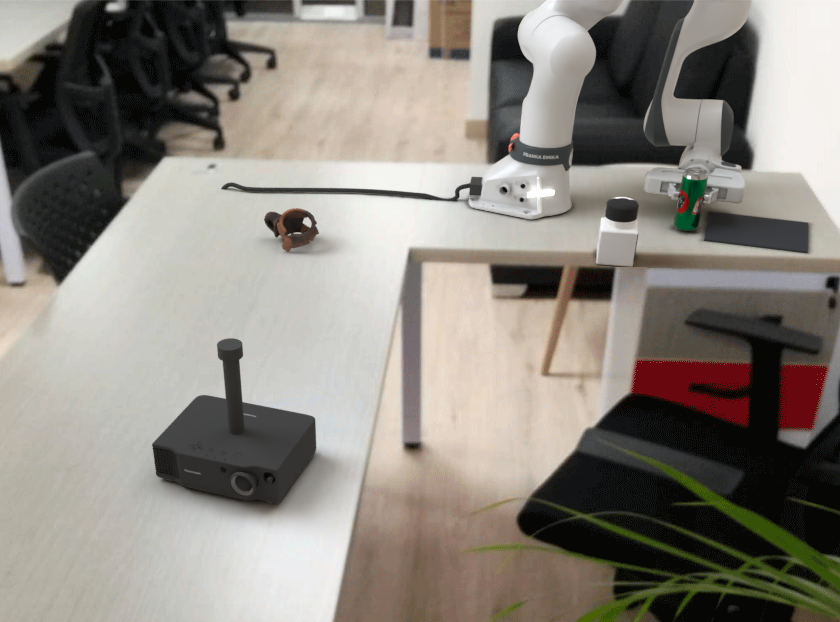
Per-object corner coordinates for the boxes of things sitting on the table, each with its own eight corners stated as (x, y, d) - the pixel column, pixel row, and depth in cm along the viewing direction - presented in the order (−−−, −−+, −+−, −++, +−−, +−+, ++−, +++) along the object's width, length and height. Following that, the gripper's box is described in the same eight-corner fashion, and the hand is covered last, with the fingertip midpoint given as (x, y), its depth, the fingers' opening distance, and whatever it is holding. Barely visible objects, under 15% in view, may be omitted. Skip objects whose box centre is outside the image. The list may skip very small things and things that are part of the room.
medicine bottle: (633, 267, 210) (642, 208, 203) (596, 264, 212) (604, 205, 204) (632, 253, 216) (641, 194, 209) (596, 250, 217) (604, 192, 210)
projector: (149, 488, 152) (131, 363, 140) (202, 428, 165) (190, 309, 153) (273, 516, 147) (265, 389, 135) (318, 452, 159) (315, 330, 147)
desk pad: (703, 240, 221) (704, 239, 221) (710, 212, 233) (710, 211, 233) (807, 253, 215) (807, 251, 215) (808, 223, 227) (808, 222, 227)
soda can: (693, 233, 223) (705, 177, 215) (669, 229, 225) (680, 172, 218) (701, 225, 226) (712, 169, 219) (677, 221, 228) (687, 165, 221)
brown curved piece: (324, 237, 225) (326, 212, 218) (306, 271, 221) (308, 247, 214) (271, 217, 226) (271, 191, 219) (253, 251, 222) (253, 226, 215)
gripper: (650, 156, 232) (642, 177, 222) (749, 166, 227) (745, 189, 216) (645, 184, 236) (637, 206, 226) (742, 195, 230) (739, 219, 220)
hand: (691, 198), depth 221 cm, fingers closed on soda can, 5 cm apart
